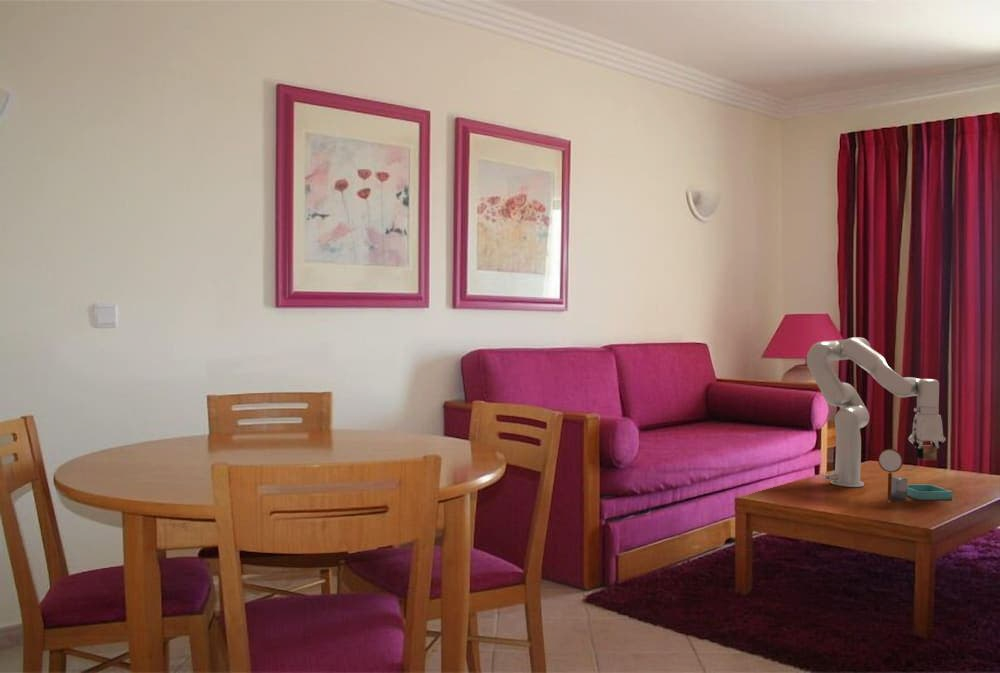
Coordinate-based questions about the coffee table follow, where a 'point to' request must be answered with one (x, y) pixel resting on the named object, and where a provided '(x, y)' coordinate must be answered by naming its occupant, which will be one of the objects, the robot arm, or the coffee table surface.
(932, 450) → the walnut block
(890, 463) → the magnifying glass
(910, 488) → the teal tray
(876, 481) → the coffee table surface
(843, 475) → the robot arm
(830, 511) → the coffee table surface
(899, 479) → the metal tin
